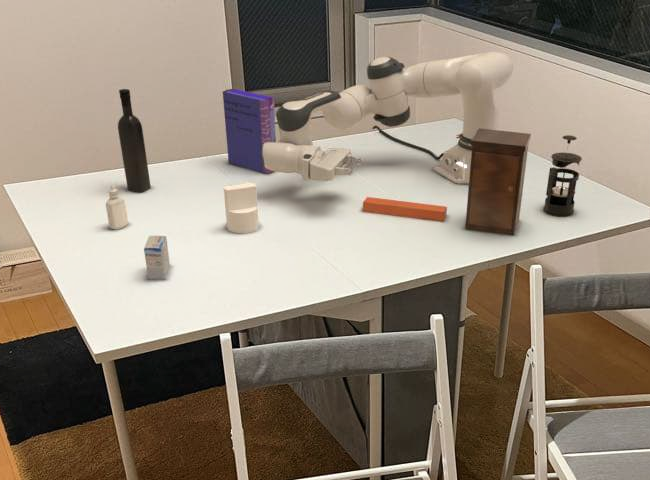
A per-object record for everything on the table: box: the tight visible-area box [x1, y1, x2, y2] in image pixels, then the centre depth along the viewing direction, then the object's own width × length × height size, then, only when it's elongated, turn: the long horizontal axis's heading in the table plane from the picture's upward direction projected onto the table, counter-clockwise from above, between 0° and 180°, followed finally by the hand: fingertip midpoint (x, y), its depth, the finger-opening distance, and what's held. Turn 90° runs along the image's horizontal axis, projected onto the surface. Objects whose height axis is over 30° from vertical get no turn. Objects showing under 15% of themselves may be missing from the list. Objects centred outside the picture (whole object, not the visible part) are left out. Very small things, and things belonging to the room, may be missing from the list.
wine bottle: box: [117, 88, 152, 193], centre depth 250 cm, size 6×6×30 cm
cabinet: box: [464, 128, 532, 236], centre depth 236 cm, size 15×13×26 cm
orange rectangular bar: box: [362, 196, 448, 222], centre depth 248 cm, size 25×4×3 cm, turn 76°
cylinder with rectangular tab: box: [223, 182, 260, 234], centre depth 233 cm, size 9×9×12 cm
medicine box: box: [143, 235, 171, 280], centre depth 208 cm, size 8×4×9 cm, turn 5°
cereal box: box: [222, 88, 277, 175], centre depth 272 cm, size 17×5×24 cm, turn 58°
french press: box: [542, 134, 583, 218], centre depth 248 cm, size 12×9×23 cm
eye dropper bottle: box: [105, 184, 129, 231], centre depth 231 cm, size 4×6×12 cm
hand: (356, 166), depth 244 cm, fingers open, 8 cm apart
